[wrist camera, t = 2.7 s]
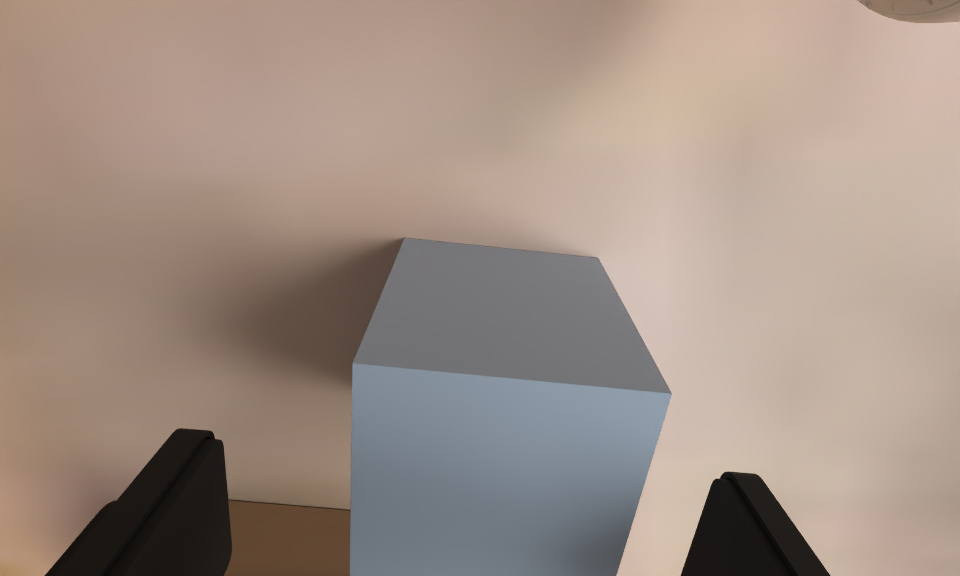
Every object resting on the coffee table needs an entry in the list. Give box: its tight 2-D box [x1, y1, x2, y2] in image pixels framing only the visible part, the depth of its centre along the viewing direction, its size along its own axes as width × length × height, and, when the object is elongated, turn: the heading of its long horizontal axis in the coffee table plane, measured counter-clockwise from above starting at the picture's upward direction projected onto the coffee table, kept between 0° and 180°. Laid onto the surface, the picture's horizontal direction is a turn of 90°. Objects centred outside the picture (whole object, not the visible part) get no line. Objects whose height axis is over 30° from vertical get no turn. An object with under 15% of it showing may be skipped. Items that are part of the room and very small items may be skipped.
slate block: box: [350, 238, 672, 576], centre depth 12 cm, size 5×5×6 cm
